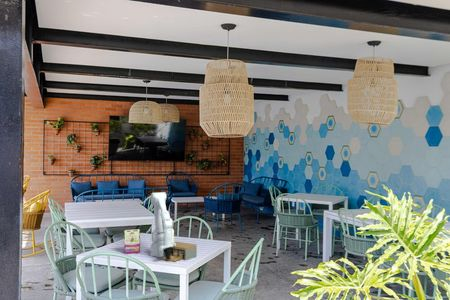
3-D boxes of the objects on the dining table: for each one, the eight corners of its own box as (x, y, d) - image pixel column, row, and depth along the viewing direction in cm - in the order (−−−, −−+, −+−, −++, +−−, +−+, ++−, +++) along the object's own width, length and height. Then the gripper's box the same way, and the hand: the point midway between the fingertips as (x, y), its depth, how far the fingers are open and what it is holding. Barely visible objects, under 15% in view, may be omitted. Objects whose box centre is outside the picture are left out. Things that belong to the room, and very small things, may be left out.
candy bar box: (140, 251, 305) (140, 229, 305) (140, 253, 300) (140, 230, 300) (124, 252, 302) (124, 229, 302) (124, 254, 297) (124, 230, 297)
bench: (165, 256, 289) (165, 244, 289) (176, 253, 299) (176, 241, 299) (186, 260, 279) (186, 248, 279) (196, 256, 290) (196, 244, 290)
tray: (162, 260, 281) (162, 252, 281) (176, 255, 292) (176, 247, 292) (174, 262, 275) (174, 254, 275) (187, 257, 287) (187, 249, 287)
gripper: (165, 241, 269) (165, 262, 269) (179, 237, 281) (179, 257, 281) (157, 239, 273) (157, 260, 273) (171, 235, 285) (171, 255, 285)
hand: (167, 258), depth 277 cm, fingers closed
